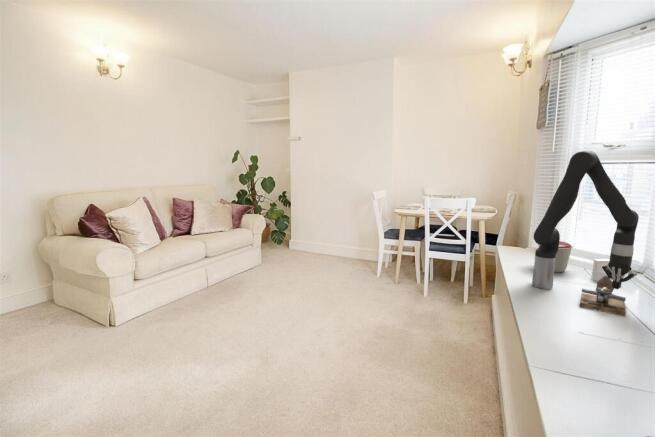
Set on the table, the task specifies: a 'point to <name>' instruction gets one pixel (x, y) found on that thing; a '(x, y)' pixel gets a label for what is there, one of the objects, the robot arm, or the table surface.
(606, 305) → the stand
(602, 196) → the robot arm
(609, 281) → the vase
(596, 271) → the base with upright slab
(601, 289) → the capstan
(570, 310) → the table surface
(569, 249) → the canister
